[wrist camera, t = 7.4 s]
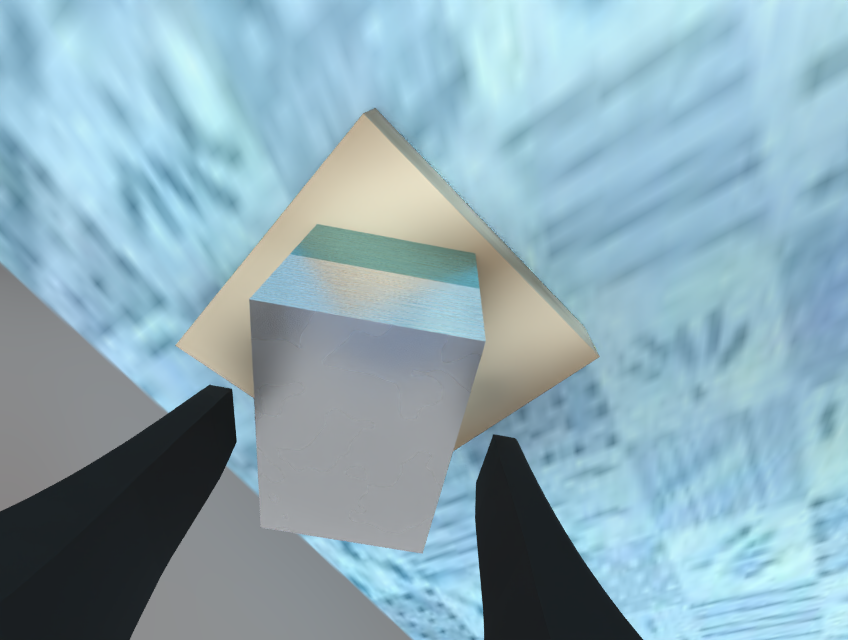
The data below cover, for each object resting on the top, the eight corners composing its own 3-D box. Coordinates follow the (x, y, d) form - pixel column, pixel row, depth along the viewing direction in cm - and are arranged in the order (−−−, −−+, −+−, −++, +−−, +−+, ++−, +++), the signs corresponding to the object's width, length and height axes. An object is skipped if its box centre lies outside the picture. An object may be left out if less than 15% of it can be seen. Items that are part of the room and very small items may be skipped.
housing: (430, 433, 17) (422, 553, 13) (309, 412, 17) (260, 527, 13) (475, 253, 13) (485, 341, 9) (316, 223, 13) (249, 299, 9)
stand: (584, 327, 17) (599, 356, 15) (396, 456, 21) (391, 490, 19) (375, 107, 13) (363, 113, 11) (202, 318, 17) (175, 345, 16)
